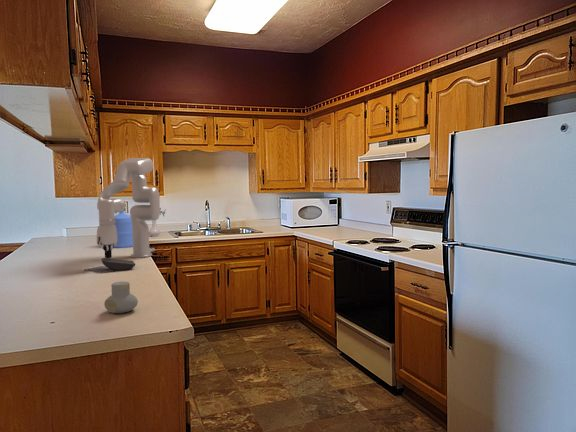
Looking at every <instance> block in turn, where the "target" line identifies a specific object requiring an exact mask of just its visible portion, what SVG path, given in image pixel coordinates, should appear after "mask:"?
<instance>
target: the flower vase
mask: <svg viewBox="0 0 576 432" xmlns="http://www.w3.org/2000/svg"><path fill="white" fill-rule="evenodd" d="M165 214H166V209H165V210H162V207H160V216H161V215H162V216H163V217H165ZM151 223H152V225H151V227H150V228H149V236H150V237H153V238H154V237H159V235H160V234H161V230H160V229H159V228H158V227H157V220H153V221H152V222H151Z"/></svg>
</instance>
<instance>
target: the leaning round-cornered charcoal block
mask: <svg viewBox="0 0 576 432" xmlns="http://www.w3.org/2000/svg"><path fill="white" fill-rule="evenodd" d="M100 260H101V263H102V265H103V266H106V267H108V268H110V269H113V270H116V271H123V272H124V271H128V270H131V269H132V268H134V267H135V266H136V263H135V262H134V260H130V259H128V260H127V259H120V258H119V259H117V258H105V257H103V258H101V259H100Z"/></svg>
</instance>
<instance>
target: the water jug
mask: <svg viewBox="0 0 576 432" xmlns="http://www.w3.org/2000/svg"><path fill="white" fill-rule="evenodd" d="M114 218H115V221H116V222H115V225H116V230H117V239H118V240H117V245H116V246H114V247H113V249H115V248H116V249H124V248H125V249H126V248H133V233H132V220H131V216H130V214H127V213H125V210H124V211H122V212H119V213H118V214H116V215H115V214H114Z"/></svg>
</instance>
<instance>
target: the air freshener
mask: <svg viewBox="0 0 576 432" xmlns="http://www.w3.org/2000/svg"><path fill="white" fill-rule="evenodd" d="M130 285H131V284H130V282H129V281H116V282H113V283H112V284H111V295H109V296H108V297H107V298H106V299H105V300H104V308H105V310H107V311H108V312H110V313H112V314H114V313H120V314H124V313H125V312H126V313H129V312H131V311H133V310H134V309H135V308H136V307H137V306H138V304H139V303H138V302H139V300H138V297H136V296H135V295H134V294H132V293H131V291H130V289H131V287H130Z"/></svg>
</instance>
